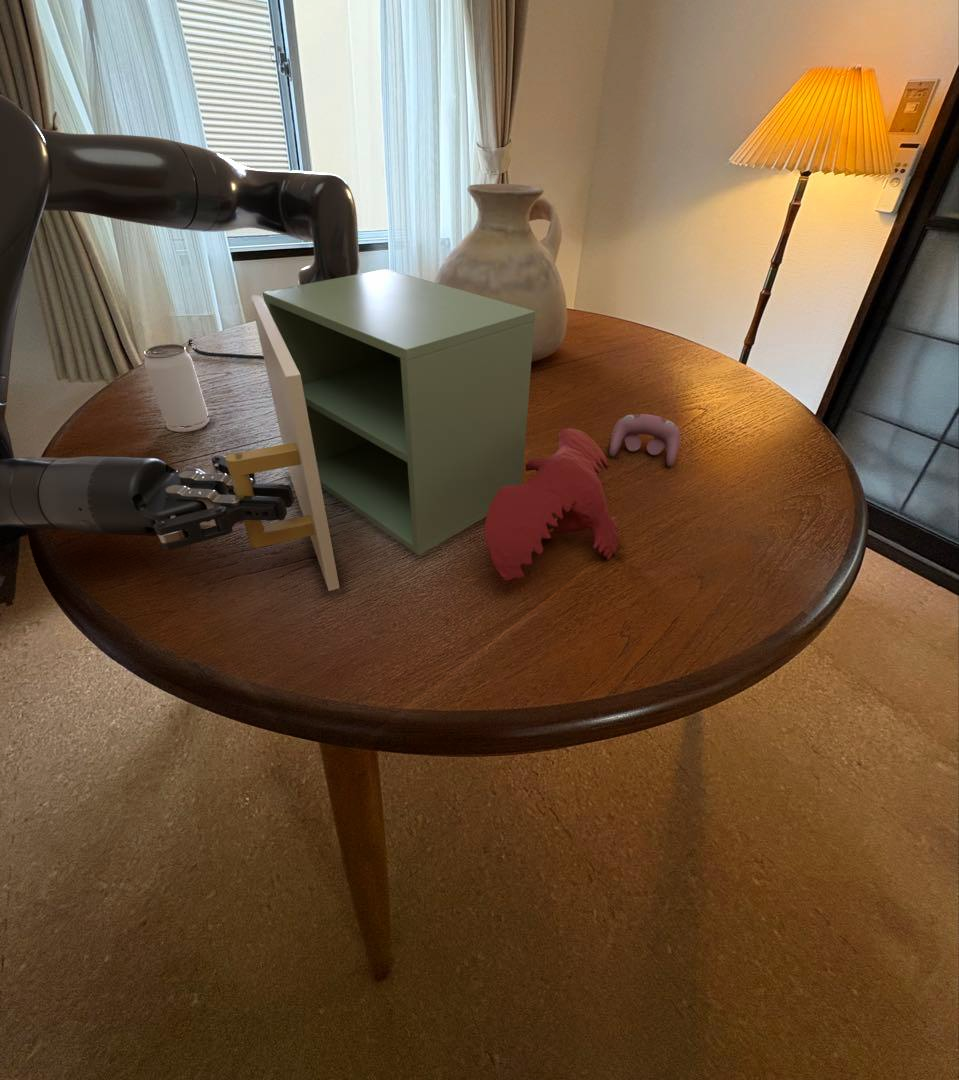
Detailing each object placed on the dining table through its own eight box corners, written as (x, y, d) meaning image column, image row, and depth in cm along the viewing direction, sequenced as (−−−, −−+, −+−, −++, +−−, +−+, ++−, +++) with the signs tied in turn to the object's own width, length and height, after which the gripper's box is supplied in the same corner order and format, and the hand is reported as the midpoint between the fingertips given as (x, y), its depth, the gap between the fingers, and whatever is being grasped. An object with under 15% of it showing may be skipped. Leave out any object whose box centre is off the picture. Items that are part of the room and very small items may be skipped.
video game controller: (673, 466, 85) (684, 420, 84) (674, 467, 81) (686, 419, 79) (608, 455, 88) (617, 410, 86) (606, 455, 83) (616, 408, 82)
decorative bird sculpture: (612, 514, 80) (554, 426, 77) (669, 491, 73) (609, 394, 71) (522, 643, 60) (441, 531, 58) (589, 626, 54) (502, 500, 51)
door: (267, 607, 58) (201, 387, 43) (242, 483, 76) (190, 300, 62) (339, 588, 60) (300, 374, 46) (298, 472, 79) (260, 294, 64)
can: (195, 435, 87) (170, 359, 80) (157, 431, 88) (130, 355, 81) (218, 418, 92) (197, 345, 85) (183, 414, 93) (159, 341, 86)
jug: (398, 359, 115) (387, 187, 96) (484, 318, 138) (488, 173, 119) (522, 391, 103) (535, 202, 85) (593, 341, 126) (616, 184, 108)
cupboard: (418, 556, 65) (406, 349, 50) (299, 471, 79) (262, 292, 64) (521, 496, 75) (535, 311, 61) (399, 431, 89) (386, 268, 75)
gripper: (47, 503, 47) (251, 511, 46) (136, 428, 57) (302, 433, 57) (86, 571, 51) (272, 579, 51) (161, 490, 62) (315, 495, 61)
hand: (287, 502), depth 54 cm, fingers closed
